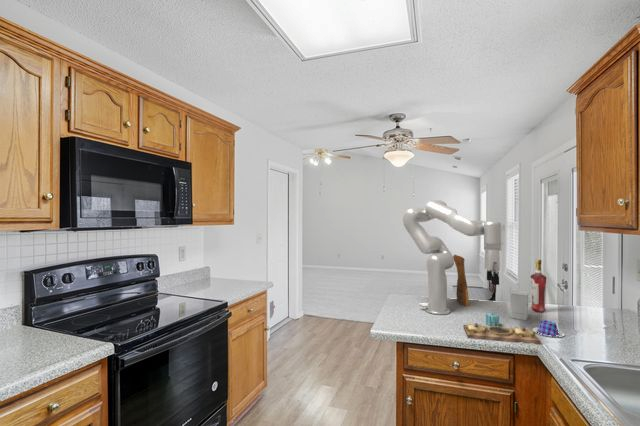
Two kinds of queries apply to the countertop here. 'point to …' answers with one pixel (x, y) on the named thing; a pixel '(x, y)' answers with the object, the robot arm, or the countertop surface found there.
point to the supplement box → (519, 305)
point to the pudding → (548, 328)
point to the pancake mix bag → (461, 281)
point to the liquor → (538, 289)
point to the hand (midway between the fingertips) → (492, 282)
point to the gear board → (501, 333)
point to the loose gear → (492, 319)
